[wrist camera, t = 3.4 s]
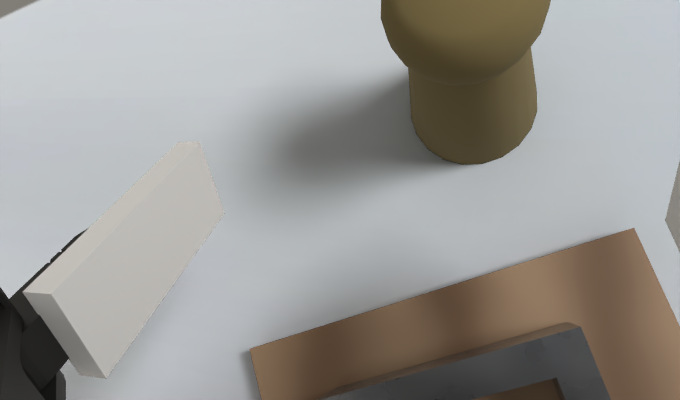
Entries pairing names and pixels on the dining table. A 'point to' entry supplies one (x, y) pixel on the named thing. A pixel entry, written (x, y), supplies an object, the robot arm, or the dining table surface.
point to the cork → (468, 72)
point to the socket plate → (498, 338)
